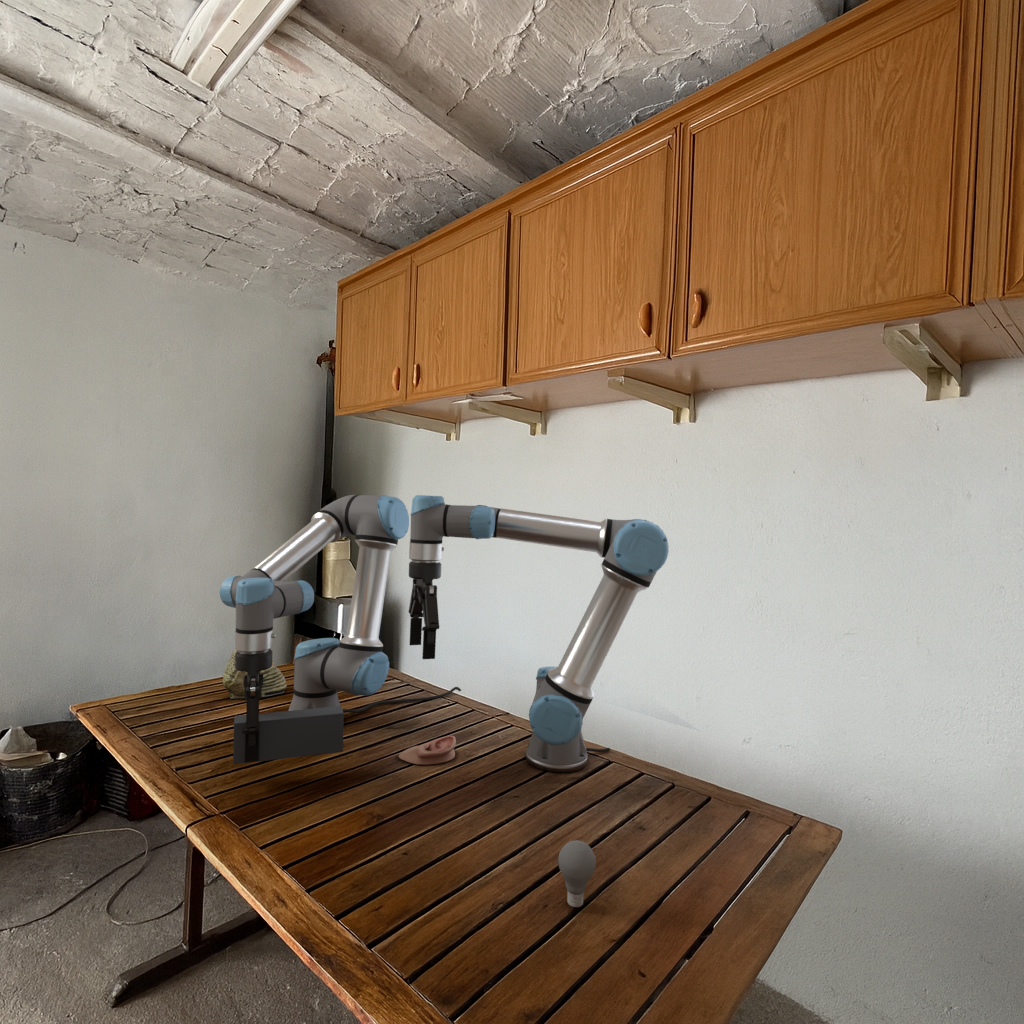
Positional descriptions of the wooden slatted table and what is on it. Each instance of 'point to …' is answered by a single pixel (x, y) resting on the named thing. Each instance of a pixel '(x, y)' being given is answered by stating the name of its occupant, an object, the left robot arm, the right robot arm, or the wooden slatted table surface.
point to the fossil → (235, 678)
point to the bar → (293, 734)
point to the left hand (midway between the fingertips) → (252, 755)
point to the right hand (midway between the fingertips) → (421, 651)
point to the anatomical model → (431, 751)
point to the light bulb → (576, 869)
